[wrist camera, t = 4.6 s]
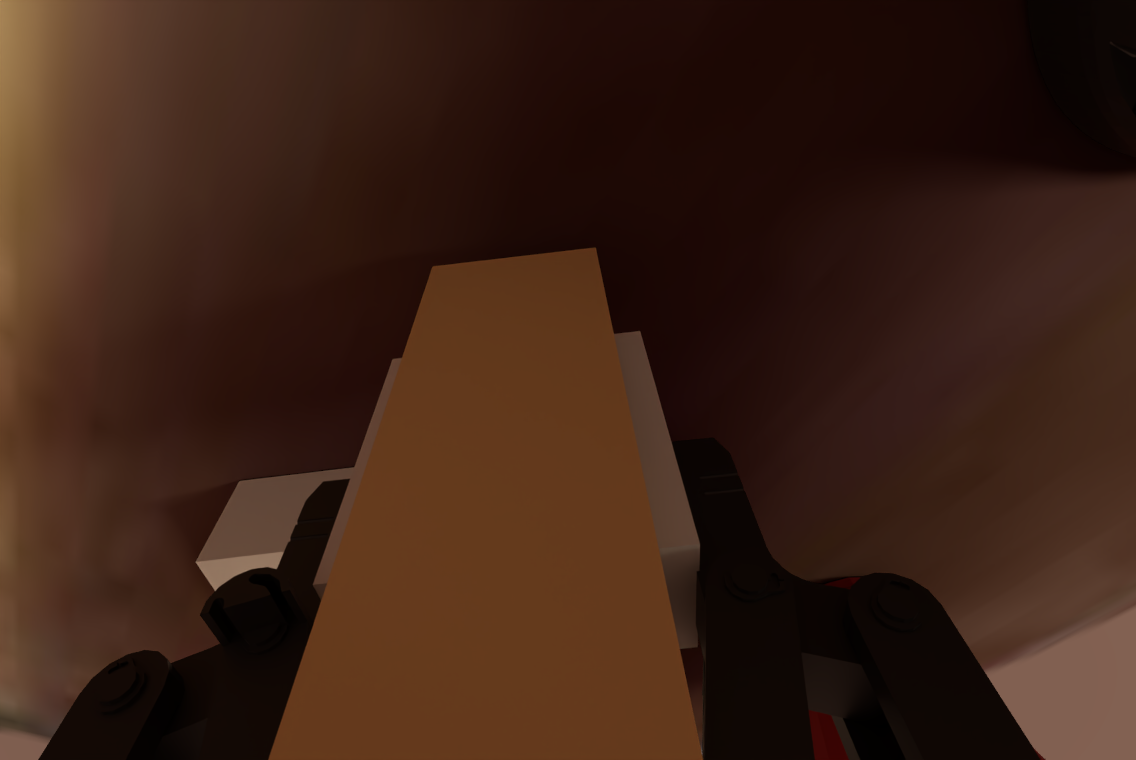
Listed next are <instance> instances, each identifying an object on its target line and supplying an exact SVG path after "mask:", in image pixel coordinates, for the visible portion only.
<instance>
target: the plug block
mask: <svg viewBox="0 0 1136 760" xmlns="http://www.w3.org/2000/svg"><path fill="white" fill-rule="evenodd" d="M268 760H703V757H702V752H701V748H700V743H699V738H698V733H697V729H696V724H695V719H694V714H693V709H692V705H691V700H690V695H689V690H688V686H687V681H686V676H685V671H684V666H683V662H682V657H681V652H680V647H679V643H678V638H677V633H676V628H675V624H674V619H673V614H672V609H671V604H670V600H669V595H668V590H667V585H666V581H665V576H664V571H663V566H662V561H661V557H660V552H659V547H658V542H657V538H656V533H655V528H654V523H653V519H652V514H651V509H650V504H649V499H648V495H647V490H646V485H645V480H644V476H643V471H642V466H641V461H640V456H639V452H638V447H637V442H636V437H635V433H634V428H633V423H632V418H631V413H630V409H629V404H628V399H627V394H626V390H625V385H624V380H623V375H622V371H621V366H620V361H619V356H618V351H617V347H616V342H615V337H614V332H613V328H612V323H611V318H610V313H609V308H608V304H607V299H606V294H605V289H604V285H603V280H602V275H601V270H600V266H599V261H598V256H597V251H596V247H595V248H586V249H578V250H569V251H560V252H552V253H543V254H535V255H526V256H518V257H509V258H500V259H492V260H483V261H475V262H466V263H457V264H449V265H440V266H432V269H431V272H430V275H429V278H428V281H427V284H426V287H425V290H424V293H423V296H422V299H421V302H420V305H419V308H418V311H417V314H416V317H415V320H414V323H413V326H412V329H411V332H410V335H409V338H408V341H407V344H406V347H405V350H404V353H403V356H402V360H401V363H400V366H399V369H398V372H397V375H396V378H395V381H394V384H393V387H392V390H391V393H390V396H389V399H388V402H387V405H386V408H385V411H384V414H383V417H382V420H381V423H380V426H379V429H378V432H377V435H376V438H375V441H374V444H373V447H372V450H371V453H370V456H369V459H368V462H367V465H366V468H365V471H364V474H363V477H362V480H361V483H360V486H359V489H358V492H357V495H356V498H355V501H354V504H353V507H352V510H351V513H350V516H349V519H348V522H347V525H346V528H345V531H344V534H343V537H342V540H341V543H340V546H339V549H338V552H337V555H336V558H335V561H334V564H333V567H332V570H331V573H330V576H329V579H328V582H327V585H326V588H325V591H324V594H323V597H322V600H321V603H320V606H319V609H318V612H317V615H316V618H315V621H314V624H313V627H312V630H311V633H310V636H309V639H308V642H307V645H306V648H305V651H304V654H303V657H302V660H301V663H300V666H299V669H298V672H297V675H296V678H295V681H294V684H293V687H292V690H291V693H290V696H289V699H288V702H287V705H286V708H285V711H284V714H283V717H282V720H281V723H280V726H279V729H278V732H277V735H276V738H275V741H274V744H273V747H272V750H271V753H270V756H269V759H268Z"/></svg>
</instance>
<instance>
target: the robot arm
mask: <svg viewBox="0 0 1136 760" xmlns="http://www.w3.org/2000/svg"><path fill="white" fill-rule="evenodd" d="M1028 16H1029V25H1030V33H1031V38H1032V43H1033V48H1034V52H1035V56H1036V59H1037V62H1038V66H1039V69H1040V71H1041V74H1042V76H1043V79H1044V81H1045V84H1046V86H1047V87H1048V89H1049V91H1050V93H1051V95H1052V97H1053V98H1054V100H1055V101H1056V103H1057V104H1058V106H1059V107H1060V109H1061V110H1062V111H1063V113H1064V114H1065V115H1066V116H1067V117H1068V118H1069V119H1070V120H1071V122H1072V123H1073V124H1074V125H1076V126H1077V127H1078V128H1079V129H1080V130H1081V131H1082V132H1083V133H1085V134H1086V135H1088V136H1089V137H1091V138H1092V139H1094V140H1095V141H1097V142H1098V143H1100V144H1102V145H1104V146H1106V147H1108V148H1110V149H1112V150H1115V151H1118V152H1120V153H1123V154H1126V155H1129V156H1132V157H1135V158H1136V0H1028ZM614 337H615V342H616V347H617V351H618V356H619V361H620V366H621V371H622V375H623V380H624V385H625V390H626V394H627V399H628V404H629V409H630V413H631V418H632V423H633V428H634V433H635V437H636V442H637V447H638V452H639V456H640V461H641V466H642V471H643V476H644V480H645V485H646V490H647V495H648V499H649V504H650V509H651V514H652V519H653V523H654V528H655V533H656V538H657V542H658V547H659V552H660V557H661V561H662V566H663V571H664V576H665V581H666V585H667V590H668V595H669V600H670V604H671V609H672V614H673V619H674V624H675V628H676V633H677V638H678V643H679V647H680V649H683V648H693V647H698V636H699V640H700V645H701V649H702V653H703V657H704V659H703V690H702V695H703V740H702V757H703V760H815V756H814V748H813V740H812V733H811V725H810V717H809V710H811V711H815V712H820V713H824V714H828V715H831V716H832V719H833V721H834V724H835V726H836V729H837V731H838V734H839V736H840V739H841V741H842V744H843V746H844V749H845V751H846V754H847V756H848V759H849V760H1041V759H1040V758H1039V756H1038V755H1037V753H1036V751H1035V750H1034V748H1033V747H1032V745H1031V744H1030V742H1029V741H1028V739H1027V737H1026V736H1025V735H1024V733H1023V731H1022V730H1021V728H1020V726H1019V725H1018V723H1017V722H1016V720H1015V719H1014V717H1013V716H1012V714H1011V712H1010V711H1009V710H1008V708H1007V706H1006V705H1005V703H1004V702H1003V700H1002V699H1001V697H1000V695H999V694H998V692H997V691H996V689H995V688H994V686H993V685H992V683H991V681H990V680H989V678H988V677H987V675H986V674H985V672H984V670H983V669H982V667H981V666H980V664H979V663H978V661H977V660H976V658H975V656H974V655H973V653H972V652H971V650H970V649H969V647H968V646H967V644H966V642H965V641H964V639H963V638H962V636H961V635H960V633H959V632H958V630H957V628H956V627H955V625H954V624H953V622H952V621H951V619H950V618H949V616H948V614H947V613H946V611H945V610H944V608H943V607H942V605H941V604H940V603H939V602H938V600H937V599H936V598H935V597H934V596H933V595H932V594H931V593H930V591H929V590H927V589H926V588H924V587H922V586H921V585H919V584H918V583H916V582H915V581H913V580H911V579H908V578H905V577H902V576H899V575H896V574H891V573H873V574H870V575H867V576H863V577H860V578H859V579H858V580H857V581H856V582H855V583H854V584H853V585H852V586H851V588H850V589H846V588H840V587H835V586H829V585H823V584H817V583H814V582H810V581H806V580H803V579H801V578H799V577H797V576H795V575H792V574H791V573H789V572H788V571H786V570H785V569H784V568H782V567H781V566H780V564H779V563H778V562H776V561H775V560H774V559H773V558H772V556H771V554H770V552H769V551H768V549H767V547H766V544H765V541H764V539H763V536H762V534H761V531H760V529H759V526H758V524H757V521H756V519H755V516H754V513H753V511H752V508H751V506H750V503H749V501H748V498H747V496H746V493H745V491H744V490H743V485H742V483H741V480H740V478H739V476H738V475H737V470H736V468H735V465H734V463H733V460H732V457H731V455H730V453H729V452H728V451H727V450H726V449H725V448H724V447H723V446H722V445H721V444H720V443H719V442H717V441H716V440H715V439H714V438H704V439H694V440H685V441H676V442H671V439H670V435H669V432H668V428H667V425H666V421H665V418H664V414H663V411H662V407H661V403H660V400H659V396H658V393H657V389H656V386H655V382H654V379H653V375H652V371H651V368H650V364H649V361H648V357H647V354H646V350H645V347H644V343H643V339H642V336H641V332H640V331H636V332H627V333H618V334H614ZM401 360H402V358H397V359H393V360H392V362H391V365H390V368H389V371H388V374H387V376H386V379H385V382H384V385H383V388H382V391H381V393H380V396H379V399H378V402H377V405H376V408H375V410H374V413H373V416H372V419H371V422H370V425H369V427H368V430H367V433H366V436H365V439H364V441H363V444H362V447H361V450H360V453H359V456H358V458H357V461H356V464H355V467H354V470H353V473H352V475H351V478H350V479H341V480H332V481H323V482H322V483H321V484H320V485H319V486H318V488H317V489H316V490H315V491H314V492H313V493H312V494H311V495H310V496H309V497H308V498H307V500H306V501H305V503H304V506H303V508H302V510H301V513H300V515H299V517H298V520H297V525H295V527H294V529H293V532H292V534H291V536H290V542H288V544H287V546H286V548H285V551H284V553H283V555H282V558H281V560H280V562H279V565H278V567H277V569H274V568H269V567H263V568H256V569H250V570H248V571H246V572H243V573H241V574H238V575H236V576H234V577H233V578H231V579H230V580H228V581H227V582H225V583H224V584H222V585H221V586H220V587H218V589H217V590H216V591H215V592H214V593H213V594H212V595H211V596H210V597H209V599H208V600H207V601H206V603H205V605H204V607H203V609H202V612H201V614H200V616H201V617H202V618H203V620H204V621H205V623H206V624H207V625H208V627H209V628H210V630H211V631H212V632H213V634H214V635H215V637H216V638H217V639H218V641H219V642H220V644H218V645H216V646H214V647H212V648H209V649H207V650H204V651H202V652H199V653H196V654H194V655H191V656H189V657H186V658H183V659H181V660H178V661H175V662H173V663H170V662H169V661H168V659H167V658H166V657H164V656H163V655H162V654H161V653H160V652H158V651H149V650H143V651H139V652H135V653H131V654H128V655H126V656H124V657H122V658H120V659H118V660H116V661H114V662H112V663H111V664H109V665H108V666H107V667H105V668H104V669H103V670H102V671H100V672H99V673H98V674H97V675H96V676H94V677H93V678H92V679H91V681H90V682H89V683H88V684H87V686H86V687H85V688H84V689H83V690H82V692H81V693H80V694H79V696H78V697H77V699H76V701H75V702H74V704H73V705H72V707H71V709H70V710H69V712H68V713H67V715H66V717H65V718H64V720H63V721H62V723H61V724H60V726H59V728H58V729H57V731H56V732H55V734H54V736H53V737H52V739H51V740H50V742H49V744H48V745H47V747H46V748H45V750H44V751H43V753H42V755H41V756H40V758H39V759H38V760H268V759H269V756H270V753H271V750H272V747H273V744H274V741H275V738H276V735H277V732H278V729H279V726H280V723H281V720H282V717H283V714H284V711H285V708H286V705H287V702H288V699H289V696H290V693H291V690H292V687H293V684H294V681H295V678H296V675H297V672H298V669H299V666H300V663H301V660H302V657H303V654H304V651H305V648H306V645H307V642H308V639H309V636H310V633H311V630H312V627H313V624H314V621H315V618H316V615H317V612H318V609H319V606H320V603H321V600H322V597H323V594H324V591H325V588H326V585H327V582H328V579H329V576H330V573H331V570H332V567H333V564H334V561H335V558H336V555H337V552H338V549H339V546H340V543H341V540H342V537H343V534H344V531H345V528H346V525H347V522H348V519H349V516H350V513H351V510H352V507H353V504H354V501H355V498H356V495H357V492H358V489H359V486H360V483H361V480H362V477H363V474H364V471H365V468H366V465H367V462H368V459H369V456H370V453H371V450H372V447H373V444H374V441H375V438H376V435H377V432H378V429H379V426H380V423H381V420H382V417H383V414H384V411H385V408H386V405H387V402H388V399H389V396H390V393H391V390H392V387H393V384H394V381H395V378H396V375H397V372H398V369H399V366H400V363H401Z"/></svg>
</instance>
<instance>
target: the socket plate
mask: <svg viewBox="0 0 1136 760" xmlns="http://www.w3.org/2000/svg"><path fill="white" fill-rule="evenodd" d="M353 470H354V467H352V468H344V469H336V470H327V471H319V472H310V473H302V474H294V475H285V476H277V477H268V478H260V479H252V480H243V481H239V483H238V485H237V486H236V488H235V490H234V492H233V494H232V496H231V498H230V499H229V501H228V503H227V505H226V507H225V509H224V510H223V512H222V514H221V516H220V518H219V520H218V521H217V523H216V525H215V527H214V529H213V531H212V533H211V534H210V536H209V538H208V540H207V542H206V544H205V545H204V547H203V549H202V551H201V553H200V555H199V557H198V558H197V560H196V563H197V565H198V566H199V568H200V569H201V571H202V572H203V574H204V575H205V577H206V578H207V580H208V581H209V583H210V584H211V586H212V587H213V588H214V590H215V591H216V590H217V589H218V587H220V586H221V585H222V584H224V583H225V582H227V581H228V580H230V579H231V578H233V577H234V576H236V575H238V574H241V573H243V572H246V571H248V570H250V569H256V568H263V567H269V568H274V569H277V567H278V565H279V562H280V560H281V558H282V555H283V553H284V551H285V548H286V546H287V544H288V542H290V536H291V534H292V532H293V529H294V527H295V525H297V520H298V517H299V515H300V513H301V510H302V508H303V506H304V503H305V501H306V500H307V498H308V497H309V496H310V495H311V494H312V493H313V492H314V491H315V490H316V489H317V488H318V486H319V485H320V484H321V483H322V482H323V481H332V480H341V479H350V478H351V475H352V473H353Z"/></svg>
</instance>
